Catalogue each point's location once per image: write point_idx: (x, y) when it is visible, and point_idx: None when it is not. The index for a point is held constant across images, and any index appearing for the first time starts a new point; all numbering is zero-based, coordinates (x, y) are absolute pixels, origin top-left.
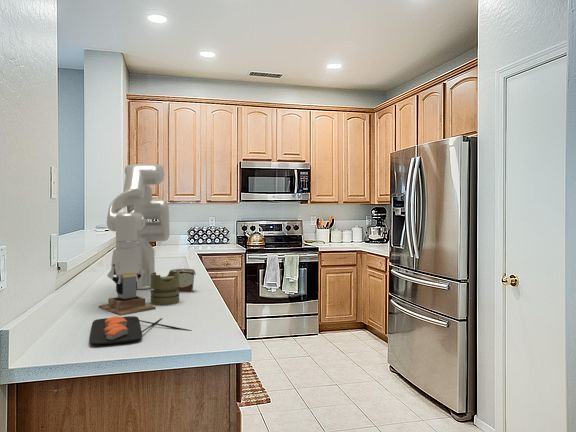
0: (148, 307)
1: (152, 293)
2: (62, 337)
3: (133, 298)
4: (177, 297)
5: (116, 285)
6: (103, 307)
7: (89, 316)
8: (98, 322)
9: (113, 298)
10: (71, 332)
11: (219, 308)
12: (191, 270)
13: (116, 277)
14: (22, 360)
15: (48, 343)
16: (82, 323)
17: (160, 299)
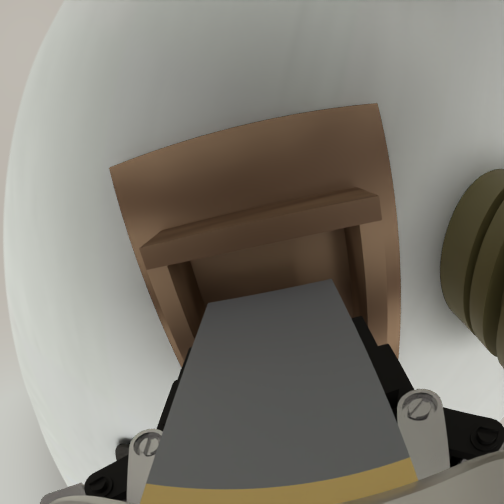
0: None
1: (479, 299)
2: (78, 461)
3: (356, 253)
4: None
5: (163, 426)
6: (131, 240)
7: (83, 348)
8: None
9: (179, 262)
10: (83, 451)
11: (498, 418)
12: None
13: (138, 498)
14: (68, 485)
15: (69, 466)
16: (84, 413)
17: (469, 328)
